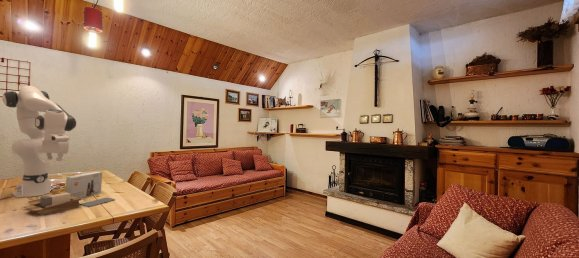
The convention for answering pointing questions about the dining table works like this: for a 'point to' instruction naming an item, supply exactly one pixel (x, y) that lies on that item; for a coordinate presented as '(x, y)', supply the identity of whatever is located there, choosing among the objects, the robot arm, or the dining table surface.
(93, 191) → the skincare box
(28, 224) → the dining table surface
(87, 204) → the felt mat
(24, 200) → the dining table surface
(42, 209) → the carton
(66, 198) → the box
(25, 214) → the dining table surface
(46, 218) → the dining table surface
